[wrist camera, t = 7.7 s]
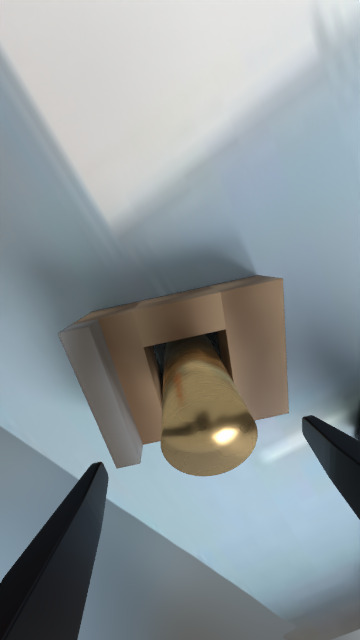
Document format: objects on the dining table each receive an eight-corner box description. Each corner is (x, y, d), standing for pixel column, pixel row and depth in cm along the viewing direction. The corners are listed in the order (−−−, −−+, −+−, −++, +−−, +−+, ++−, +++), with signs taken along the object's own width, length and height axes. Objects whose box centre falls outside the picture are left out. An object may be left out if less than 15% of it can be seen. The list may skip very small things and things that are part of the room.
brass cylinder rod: (208, 323, 16) (252, 390, 8) (216, 367, 18) (261, 465, 9) (159, 334, 16) (149, 412, 8) (170, 377, 18) (172, 484, 9)
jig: (258, 275, 15) (298, 280, 11) (267, 386, 19) (301, 428, 14) (91, 311, 15) (57, 333, 11) (129, 416, 19) (116, 468, 14)
